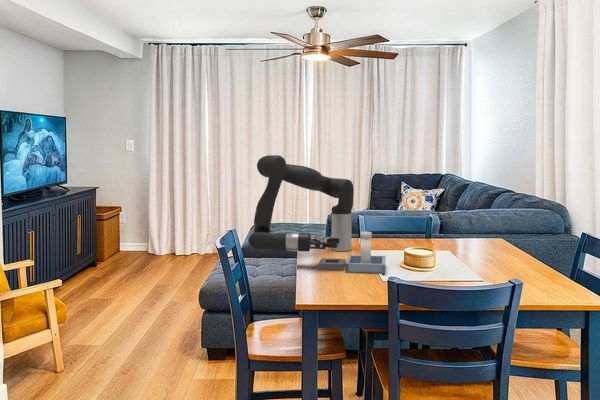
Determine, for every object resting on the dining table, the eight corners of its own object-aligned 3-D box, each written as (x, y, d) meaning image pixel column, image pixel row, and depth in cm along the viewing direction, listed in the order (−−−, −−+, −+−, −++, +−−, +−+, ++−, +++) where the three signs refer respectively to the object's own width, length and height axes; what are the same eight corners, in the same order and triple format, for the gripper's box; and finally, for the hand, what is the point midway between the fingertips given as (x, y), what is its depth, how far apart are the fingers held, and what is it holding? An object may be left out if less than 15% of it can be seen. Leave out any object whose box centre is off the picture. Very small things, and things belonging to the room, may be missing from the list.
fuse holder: (321, 265, 236) (321, 258, 236) (345, 266, 234) (345, 258, 234) (318, 271, 226) (318, 263, 226) (343, 271, 225) (343, 264, 224)
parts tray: (348, 264, 237) (348, 254, 237) (385, 265, 235) (385, 255, 234) (345, 273, 222) (345, 263, 221) (384, 275, 219) (384, 264, 219)
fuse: (360, 265, 231) (360, 231, 229) (371, 265, 230) (371, 231, 228) (359, 268, 226) (360, 233, 224) (371, 268, 225) (371, 233, 224)
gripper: (295, 236, 224) (336, 236, 221) (301, 229, 238) (340, 230, 235) (295, 254, 225) (336, 255, 222) (301, 247, 239) (340, 248, 236)
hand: (338, 242), depth 229 cm, fingers open, 8 cm apart
